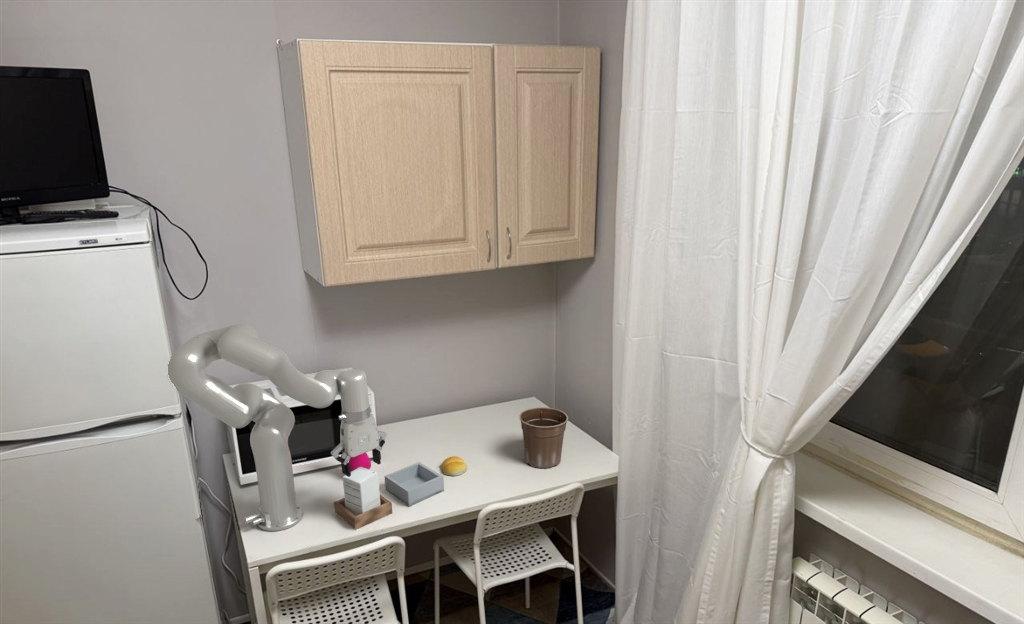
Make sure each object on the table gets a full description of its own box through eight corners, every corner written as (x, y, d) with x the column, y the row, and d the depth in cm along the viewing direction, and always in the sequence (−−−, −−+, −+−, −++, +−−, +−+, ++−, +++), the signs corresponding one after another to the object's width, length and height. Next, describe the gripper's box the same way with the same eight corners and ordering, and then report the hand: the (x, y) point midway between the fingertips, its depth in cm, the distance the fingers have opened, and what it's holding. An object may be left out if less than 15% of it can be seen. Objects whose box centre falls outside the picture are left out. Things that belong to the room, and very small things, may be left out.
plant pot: (565, 449, 225) (566, 406, 221) (569, 472, 209) (569, 426, 205) (519, 449, 225) (519, 406, 221) (519, 472, 209) (519, 426, 205)
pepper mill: (376, 475, 208) (372, 418, 203) (361, 485, 202) (356, 427, 197) (360, 470, 212) (355, 414, 207) (344, 479, 206) (339, 422, 201)
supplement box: (363, 503, 192) (360, 465, 189) (381, 511, 188) (379, 472, 185) (345, 515, 186) (341, 476, 183) (363, 523, 182) (360, 483, 179)
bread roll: (444, 478, 206) (444, 467, 205) (440, 466, 215) (439, 455, 214) (469, 475, 208) (469, 464, 207) (464, 462, 217) (464, 451, 216)
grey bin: (409, 506, 190) (408, 491, 189) (385, 490, 199) (384, 475, 198) (444, 490, 198) (443, 476, 197) (419, 475, 208) (419, 461, 206)
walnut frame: (355, 529, 179) (354, 518, 178) (334, 512, 187) (333, 502, 186) (392, 513, 187) (391, 502, 186) (370, 497, 195) (370, 487, 194)
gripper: (334, 427, 171) (341, 484, 175) (390, 408, 182) (395, 462, 186) (321, 419, 176) (328, 475, 181) (376, 401, 187) (381, 454, 192)
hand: (362, 468), depth 183 cm, fingers open, 9 cm apart
